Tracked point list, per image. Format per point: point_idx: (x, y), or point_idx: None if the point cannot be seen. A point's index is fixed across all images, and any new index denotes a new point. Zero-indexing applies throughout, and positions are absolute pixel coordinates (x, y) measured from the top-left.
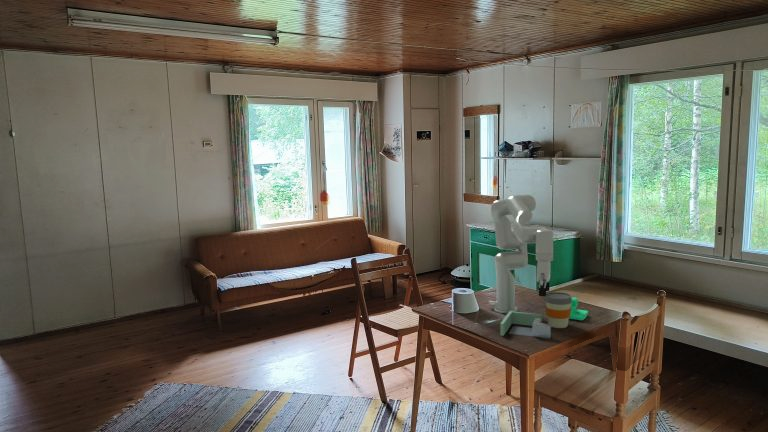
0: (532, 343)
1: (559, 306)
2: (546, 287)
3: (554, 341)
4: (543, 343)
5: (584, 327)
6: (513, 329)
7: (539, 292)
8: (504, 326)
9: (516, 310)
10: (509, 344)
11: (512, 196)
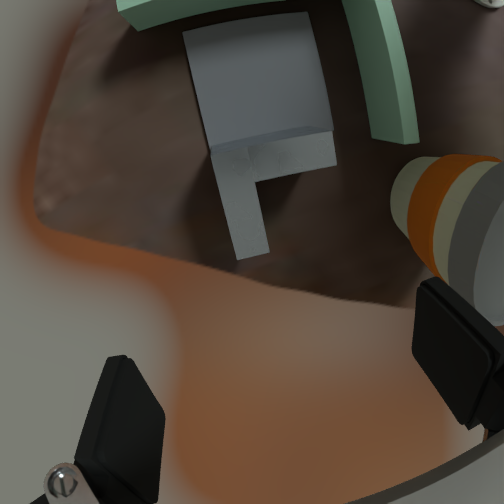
0: (127, 189)
1: (445, 267)
2: (436, 358)
3: (213, 259)
4: (158, 230)
5: None
6: (254, 28)
7: (101, 397)
8: (150, 10)
9: (482, 3)
10: (58, 113)
11: None
